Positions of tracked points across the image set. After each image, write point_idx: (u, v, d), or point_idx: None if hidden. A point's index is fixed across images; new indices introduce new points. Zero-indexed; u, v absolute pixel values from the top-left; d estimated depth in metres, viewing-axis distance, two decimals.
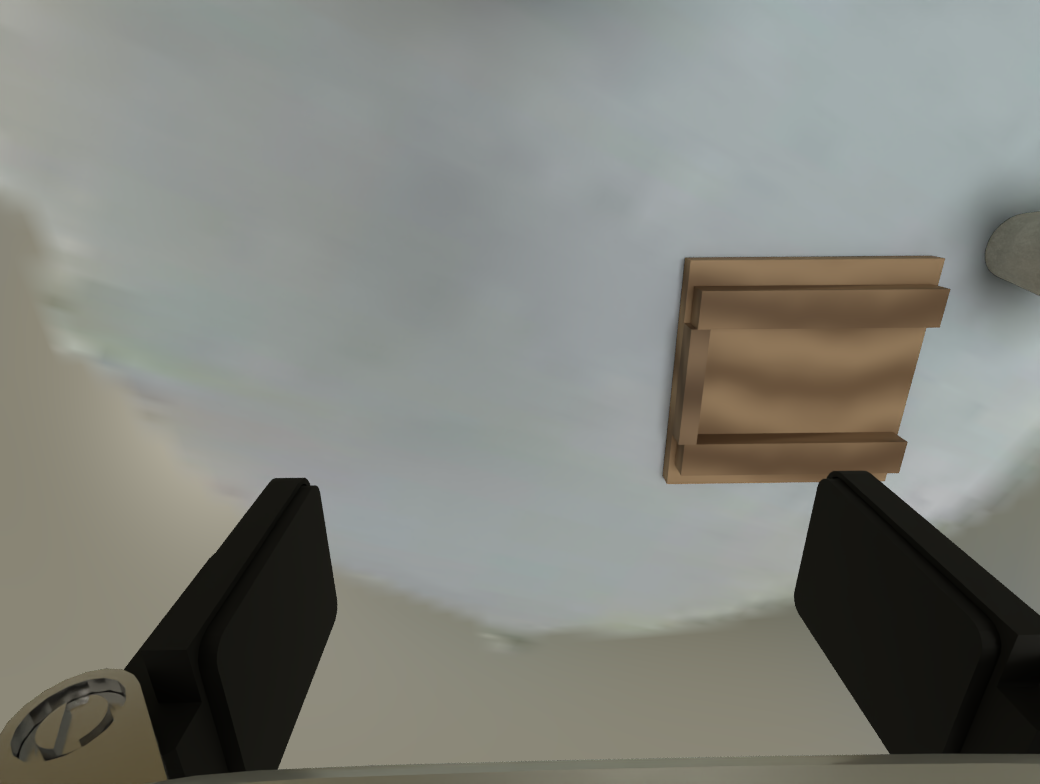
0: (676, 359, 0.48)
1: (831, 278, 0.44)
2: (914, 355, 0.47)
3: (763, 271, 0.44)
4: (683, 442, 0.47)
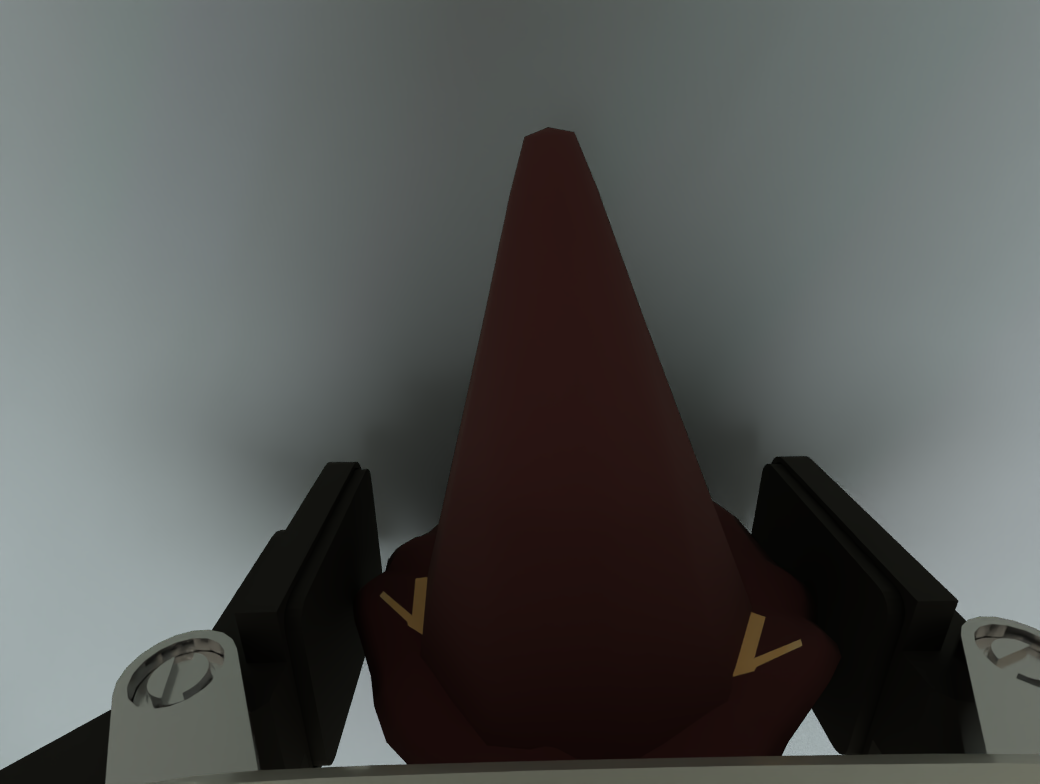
0: None
1: None
2: None
3: None
4: None
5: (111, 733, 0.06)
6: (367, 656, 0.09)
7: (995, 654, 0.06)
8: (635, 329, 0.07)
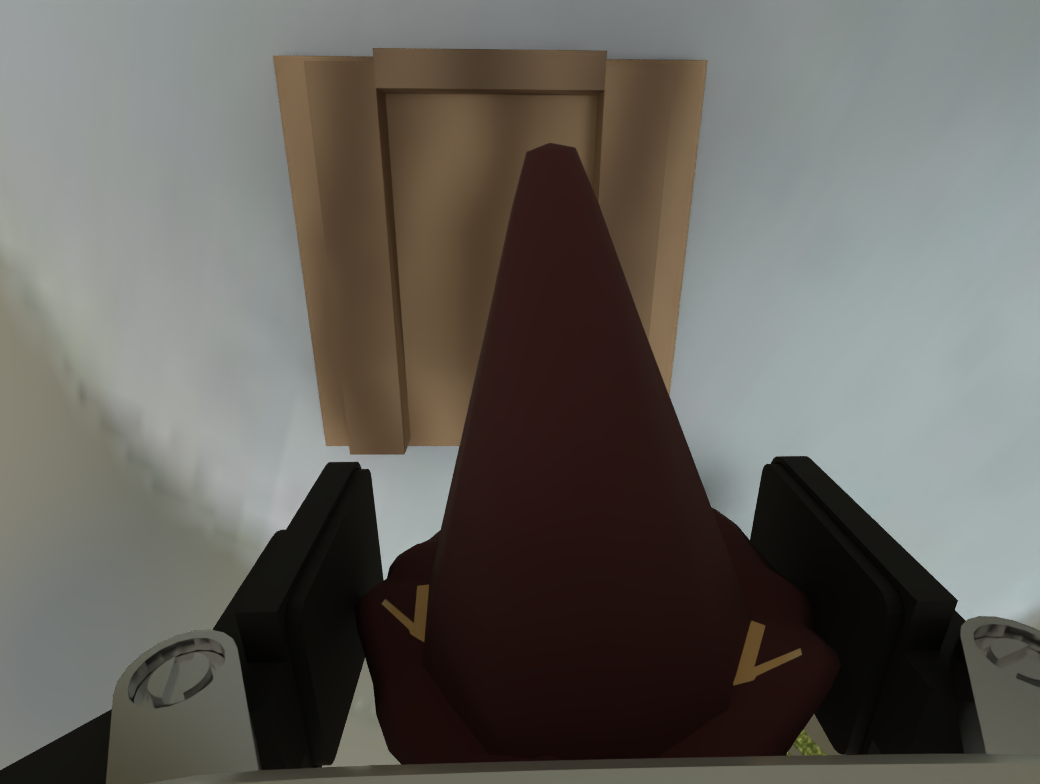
0: None
1: (653, 302, 0.30)
2: None
3: (674, 193, 0.28)
4: (378, 58, 0.24)
5: (112, 733, 0.06)
6: (369, 664, 0.09)
7: (994, 654, 0.06)
8: (636, 342, 0.07)
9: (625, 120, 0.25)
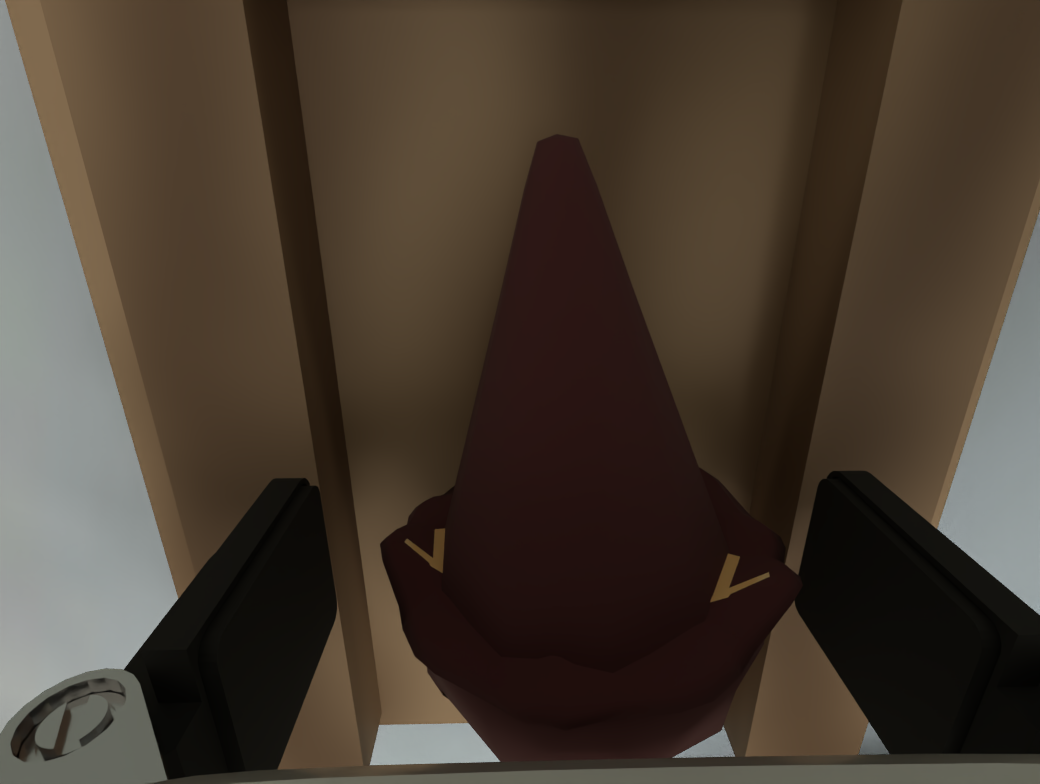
0: None
1: None
2: None
3: None
4: None
5: None
6: (394, 591, 0.10)
7: None
8: (628, 302, 0.08)
9: (957, 43, 0.09)
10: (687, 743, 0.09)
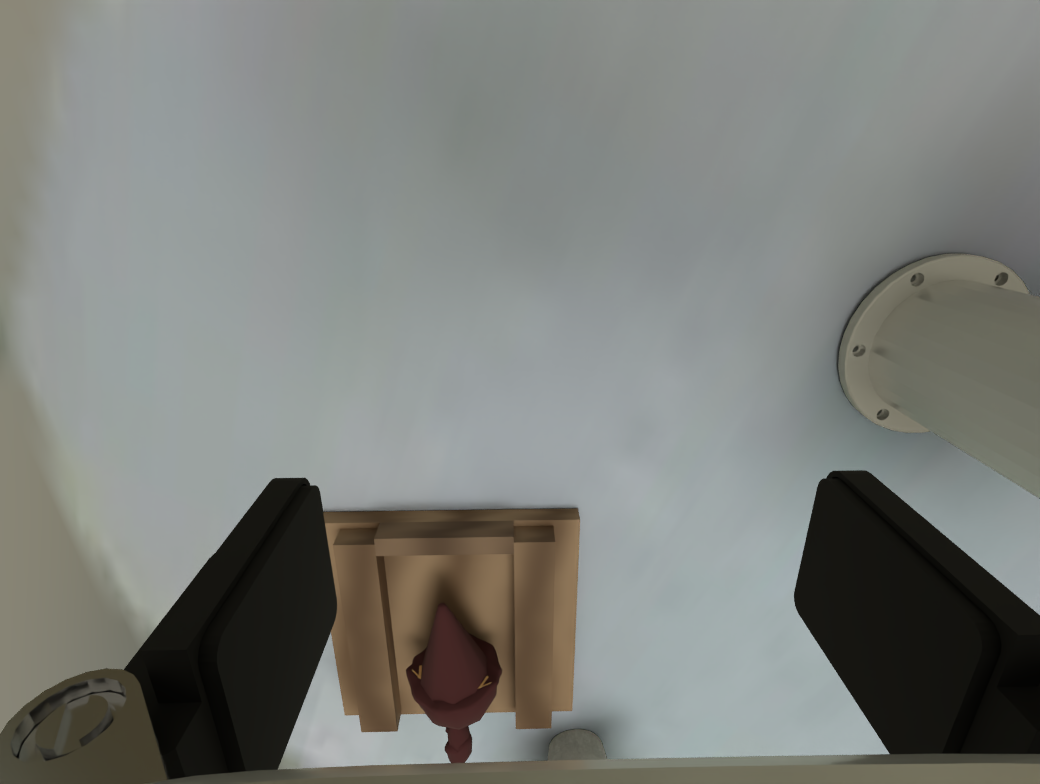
0: (468, 513, 0.43)
1: (557, 635, 0.46)
2: None
3: (566, 582, 0.44)
4: (377, 543, 0.40)
5: None
6: (409, 683, 0.42)
7: None
8: (456, 632, 0.40)
9: (527, 567, 0.41)
10: (473, 719, 0.42)
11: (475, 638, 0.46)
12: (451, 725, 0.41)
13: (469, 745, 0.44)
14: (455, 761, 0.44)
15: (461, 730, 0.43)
